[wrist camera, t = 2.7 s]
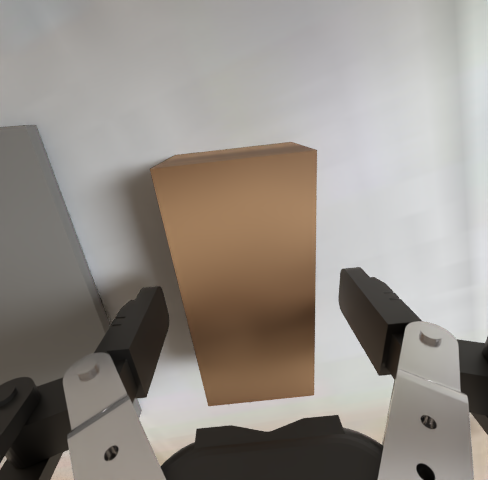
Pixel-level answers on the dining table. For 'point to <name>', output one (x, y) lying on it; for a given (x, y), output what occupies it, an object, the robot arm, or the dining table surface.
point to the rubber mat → (41, 269)
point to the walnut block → (245, 265)
